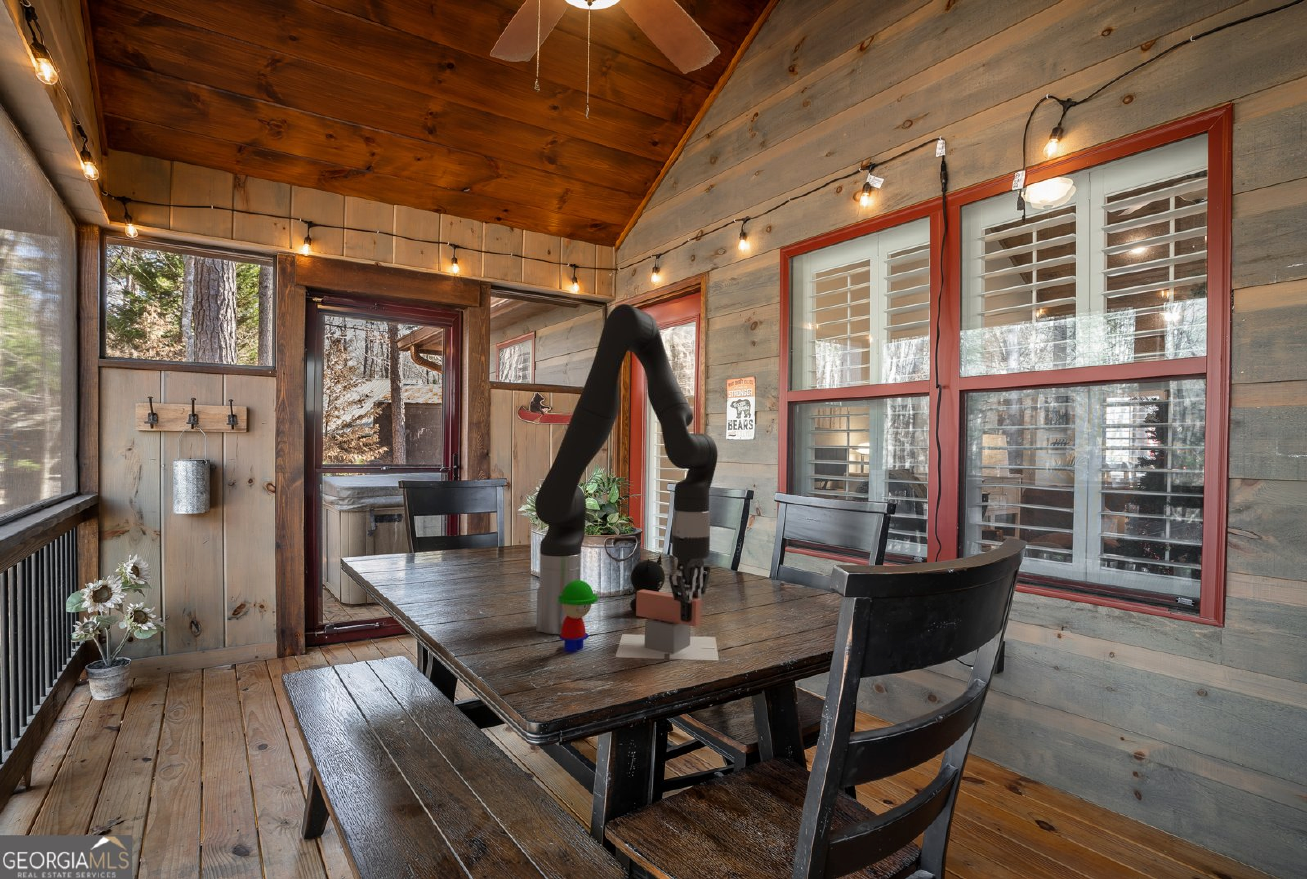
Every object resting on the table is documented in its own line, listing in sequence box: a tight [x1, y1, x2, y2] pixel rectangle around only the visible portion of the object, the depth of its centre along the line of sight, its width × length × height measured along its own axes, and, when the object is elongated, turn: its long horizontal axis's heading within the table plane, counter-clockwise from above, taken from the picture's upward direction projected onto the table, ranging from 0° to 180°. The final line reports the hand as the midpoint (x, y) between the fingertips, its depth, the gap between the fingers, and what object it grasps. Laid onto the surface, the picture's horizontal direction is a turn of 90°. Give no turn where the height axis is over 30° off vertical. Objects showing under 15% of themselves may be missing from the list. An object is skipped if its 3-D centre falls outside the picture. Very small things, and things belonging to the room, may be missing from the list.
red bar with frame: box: [635, 590, 703, 654], centre depth 134 cm, size 14×7×10 cm, turn 58°
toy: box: [558, 580, 599, 654], centre depth 131 cm, size 8×8×15 cm
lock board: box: [614, 620, 720, 662], centre depth 134 cm, size 20×15×6 cm
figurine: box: [629, 554, 666, 618], centre depth 165 cm, size 16×14×15 cm
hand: (689, 619), depth 132 cm, fingers closed on red bar with frame, 2 cm apart
